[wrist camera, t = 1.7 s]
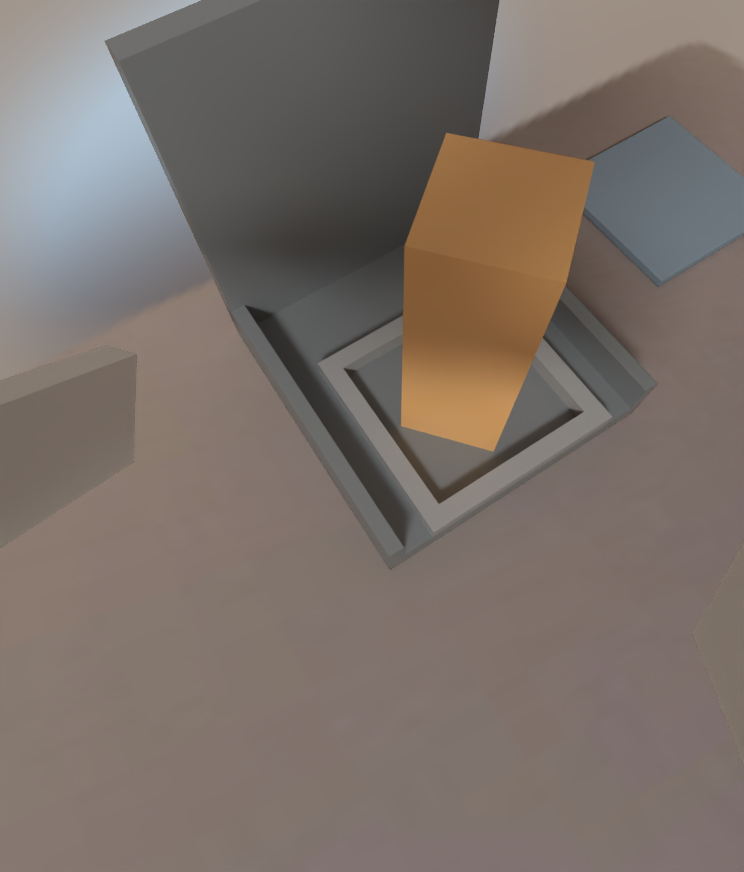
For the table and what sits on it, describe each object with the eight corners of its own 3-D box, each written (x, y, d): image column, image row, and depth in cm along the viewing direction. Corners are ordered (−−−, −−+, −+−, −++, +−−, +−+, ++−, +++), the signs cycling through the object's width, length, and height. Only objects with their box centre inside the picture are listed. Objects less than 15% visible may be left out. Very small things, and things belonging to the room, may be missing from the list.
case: (631, 412, 32) (866, 149, 16) (389, 570, 30) (382, 441, 13) (446, 207, 38) (483, -133, 22) (231, 322, 36) (95, 28, 20)
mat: (777, 214, 37) (781, 208, 37) (658, 286, 35) (661, 281, 35) (666, 122, 41) (669, 115, 40) (553, 184, 39) (554, 178, 38)
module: (514, 370, 32) (595, 161, 19) (493, 451, 30) (566, 282, 17) (426, 347, 33) (446, 132, 20) (400, 426, 31) (404, 246, 18)
